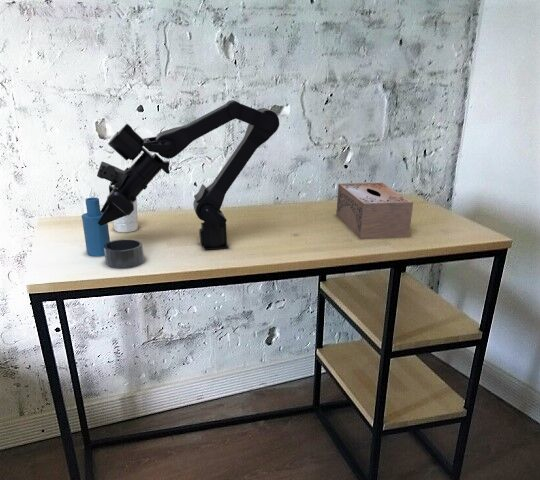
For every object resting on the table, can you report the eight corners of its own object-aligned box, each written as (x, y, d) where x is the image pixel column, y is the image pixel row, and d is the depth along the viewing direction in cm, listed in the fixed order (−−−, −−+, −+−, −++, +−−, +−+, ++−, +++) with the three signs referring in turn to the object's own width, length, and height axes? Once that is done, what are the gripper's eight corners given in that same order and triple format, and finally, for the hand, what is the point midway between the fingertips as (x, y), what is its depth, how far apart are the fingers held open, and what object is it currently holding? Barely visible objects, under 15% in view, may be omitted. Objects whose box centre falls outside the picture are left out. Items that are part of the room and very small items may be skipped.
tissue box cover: (336, 214, 181) (338, 183, 177) (378, 213, 183) (382, 182, 179) (360, 238, 159) (363, 203, 154) (408, 236, 161) (413, 202, 156)
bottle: (110, 248, 149) (104, 195, 142) (111, 255, 144) (104, 201, 137) (87, 250, 147) (79, 196, 141) (87, 257, 142) (79, 202, 136)
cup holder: (142, 254, 144) (140, 237, 142) (145, 266, 136) (143, 249, 134) (105, 257, 142) (103, 240, 140) (106, 270, 134) (104, 252, 132)
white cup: (107, 229, 164) (102, 194, 160) (130, 223, 169) (127, 190, 165) (121, 234, 160) (117, 199, 155) (145, 229, 164) (141, 195, 160)
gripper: (115, 144, 143) (76, 189, 146) (113, 157, 127) (69, 207, 130) (149, 175, 148) (111, 217, 151) (151, 190, 132) (108, 238, 135)
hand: (100, 219), depth 142 cm, fingers open, 9 cm apart
